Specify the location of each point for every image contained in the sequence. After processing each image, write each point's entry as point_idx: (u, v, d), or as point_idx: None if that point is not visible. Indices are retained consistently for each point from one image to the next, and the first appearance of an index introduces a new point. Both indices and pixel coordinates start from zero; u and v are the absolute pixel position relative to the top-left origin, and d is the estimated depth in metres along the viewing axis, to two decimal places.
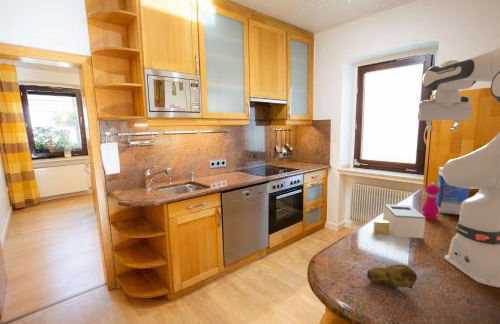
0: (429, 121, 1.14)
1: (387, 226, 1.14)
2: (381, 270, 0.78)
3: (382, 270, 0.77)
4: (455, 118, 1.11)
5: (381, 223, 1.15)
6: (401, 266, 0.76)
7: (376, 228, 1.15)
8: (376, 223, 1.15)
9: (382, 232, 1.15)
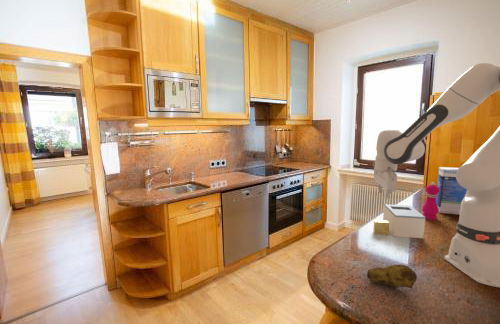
0: None
1: (387, 226, 1.14)
2: (381, 270, 0.78)
3: (382, 270, 0.77)
4: None
5: (381, 223, 1.15)
6: (401, 266, 0.76)
7: (376, 228, 1.15)
8: (376, 223, 1.15)
9: (382, 232, 1.15)
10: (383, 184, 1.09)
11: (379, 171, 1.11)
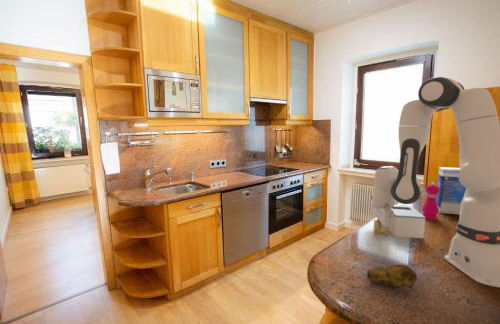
0: None
1: None
2: (381, 270, 0.78)
3: (382, 270, 0.77)
4: None
5: None
6: (401, 266, 0.76)
7: (376, 228, 1.15)
8: (376, 223, 1.15)
9: (382, 232, 1.15)
10: (380, 220, 1.11)
11: (377, 206, 1.14)
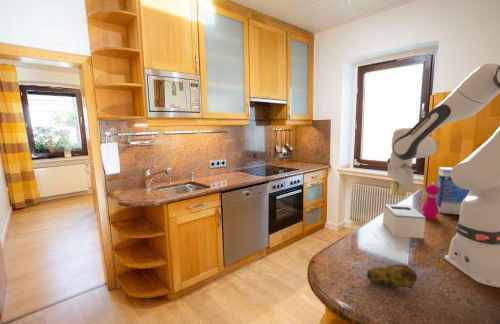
0: None
1: (404, 187, 1.17)
2: (381, 270, 0.78)
3: (382, 270, 0.77)
4: None
5: (398, 184, 1.17)
6: (401, 266, 0.76)
7: (393, 189, 1.18)
8: (394, 184, 1.18)
9: (399, 193, 1.18)
10: (399, 180, 1.14)
11: (394, 167, 1.16)
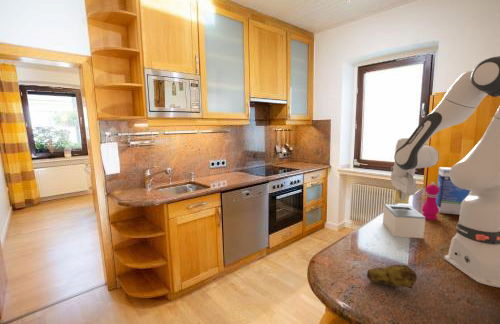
0: None
1: (407, 195, 1.19)
2: (381, 270, 0.78)
3: (382, 270, 0.77)
4: None
5: None
6: (401, 266, 0.76)
7: (396, 197, 1.20)
8: (396, 192, 1.20)
9: (402, 201, 1.20)
10: (402, 188, 1.16)
11: (397, 176, 1.18)
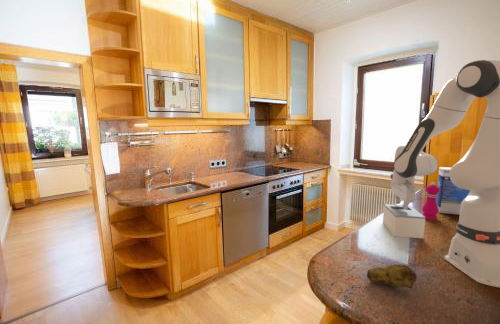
0: None
1: None
2: (381, 270, 0.78)
3: (382, 270, 0.77)
4: None
5: None
6: (401, 266, 0.76)
7: None
8: None
9: None
10: (401, 196, 1.16)
11: (397, 183, 1.19)
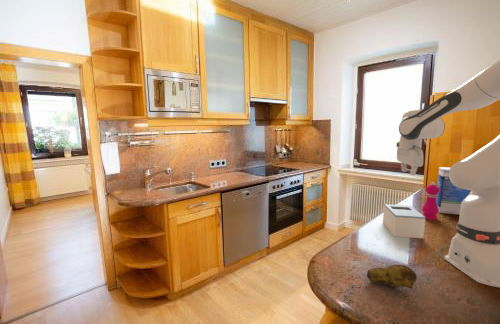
0: None
1: None
2: (381, 270, 0.78)
3: (382, 270, 0.77)
4: None
5: None
6: (401, 266, 0.76)
7: None
8: None
9: None
10: (409, 161, 1.15)
11: (404, 150, 1.18)
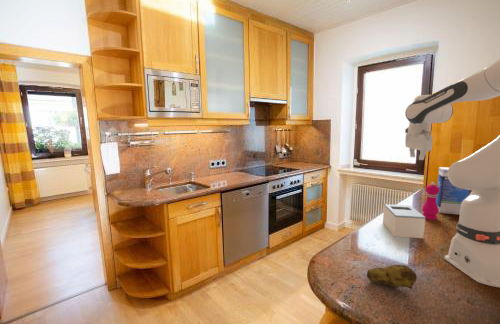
0: None
1: None
2: (381, 270, 0.78)
3: (382, 270, 0.77)
4: None
5: None
6: (401, 266, 0.76)
7: None
8: None
9: None
10: (418, 146, 1.16)
11: (413, 135, 1.19)
